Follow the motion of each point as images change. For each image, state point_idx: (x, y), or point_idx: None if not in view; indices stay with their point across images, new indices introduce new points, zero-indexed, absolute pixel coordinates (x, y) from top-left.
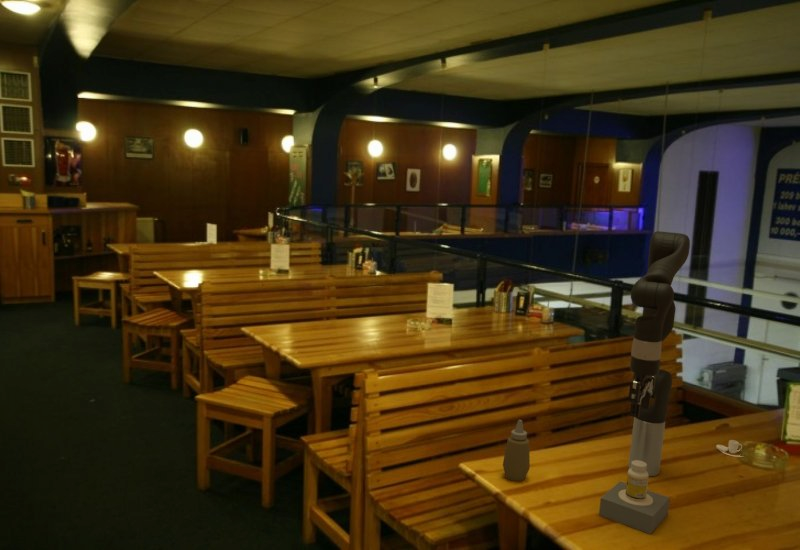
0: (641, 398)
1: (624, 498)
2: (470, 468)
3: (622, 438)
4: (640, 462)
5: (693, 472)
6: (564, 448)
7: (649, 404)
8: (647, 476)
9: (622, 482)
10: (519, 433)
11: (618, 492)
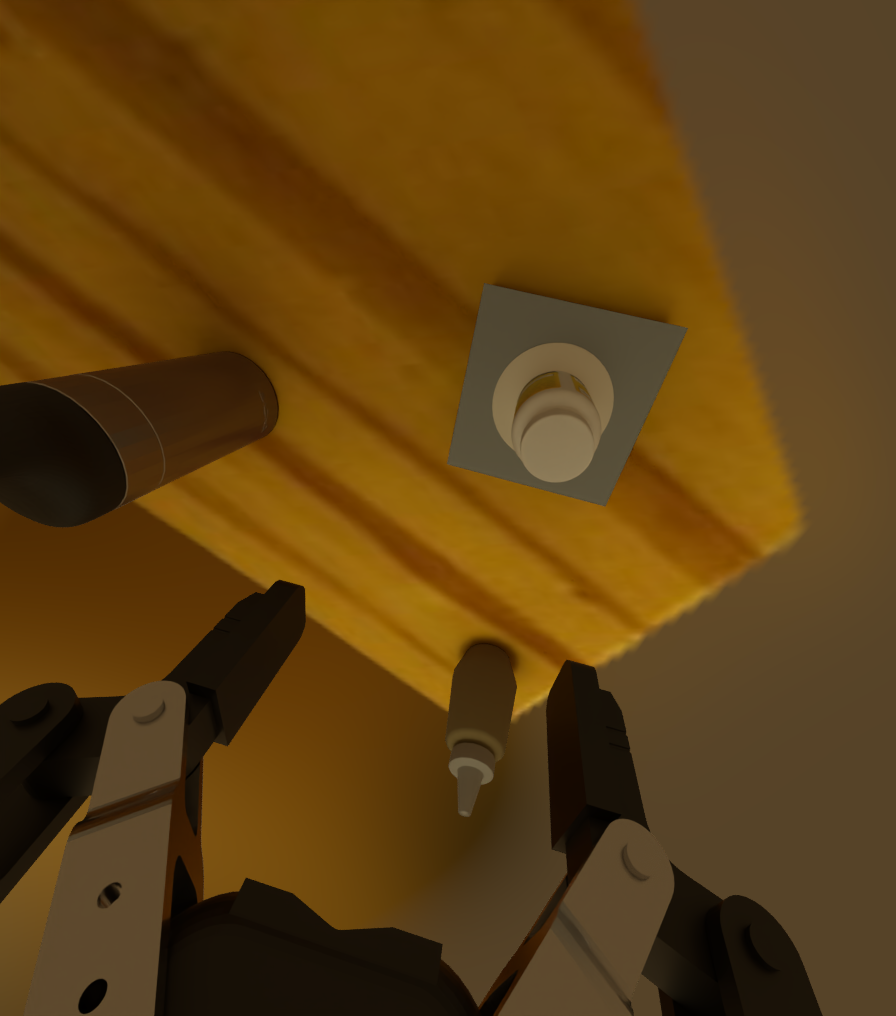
0: (591, 909)
1: None
2: None
3: None
4: (542, 445)
5: (127, 239)
6: (271, 584)
7: (266, 605)
8: (575, 392)
9: (452, 456)
10: (483, 773)
11: None
